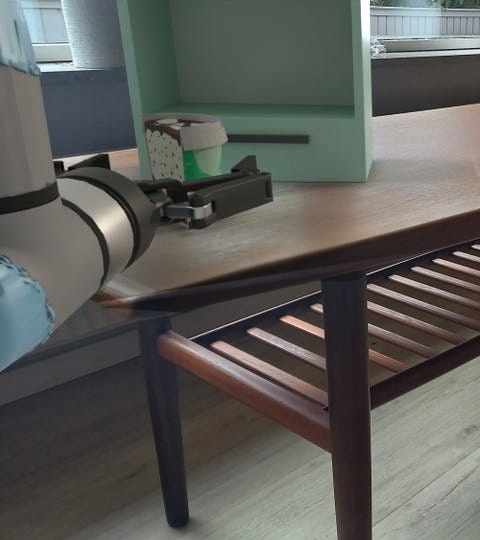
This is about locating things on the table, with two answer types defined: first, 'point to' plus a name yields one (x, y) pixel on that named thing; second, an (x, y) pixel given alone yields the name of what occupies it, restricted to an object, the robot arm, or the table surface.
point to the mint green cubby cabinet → (259, 79)
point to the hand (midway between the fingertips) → (180, 168)
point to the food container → (183, 147)
